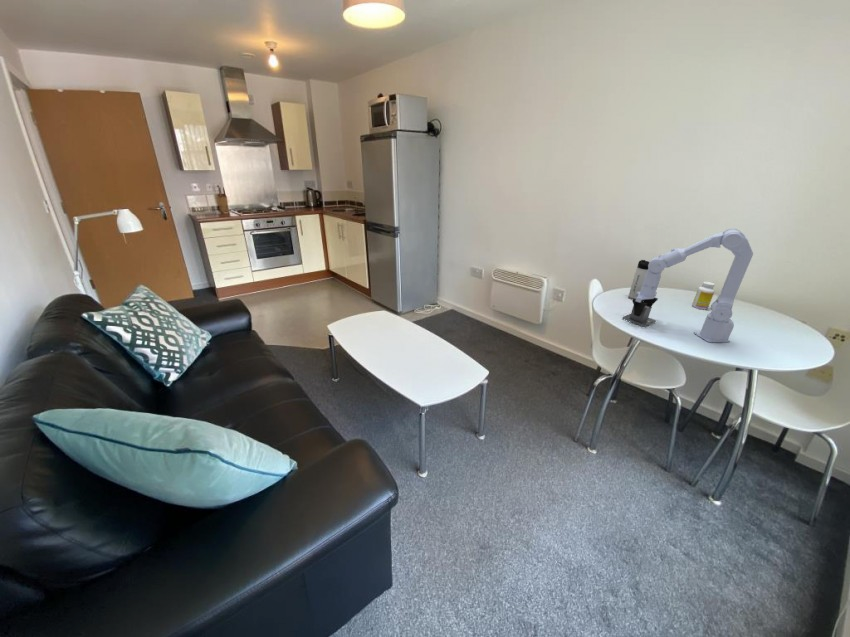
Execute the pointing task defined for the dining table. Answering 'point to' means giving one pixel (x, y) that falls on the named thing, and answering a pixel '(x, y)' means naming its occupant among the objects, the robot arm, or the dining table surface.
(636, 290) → the travel mug
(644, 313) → the grey cube with tab
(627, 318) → the plate
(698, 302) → the supplement bottle
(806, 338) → the dining table surface
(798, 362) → the dining table surface
